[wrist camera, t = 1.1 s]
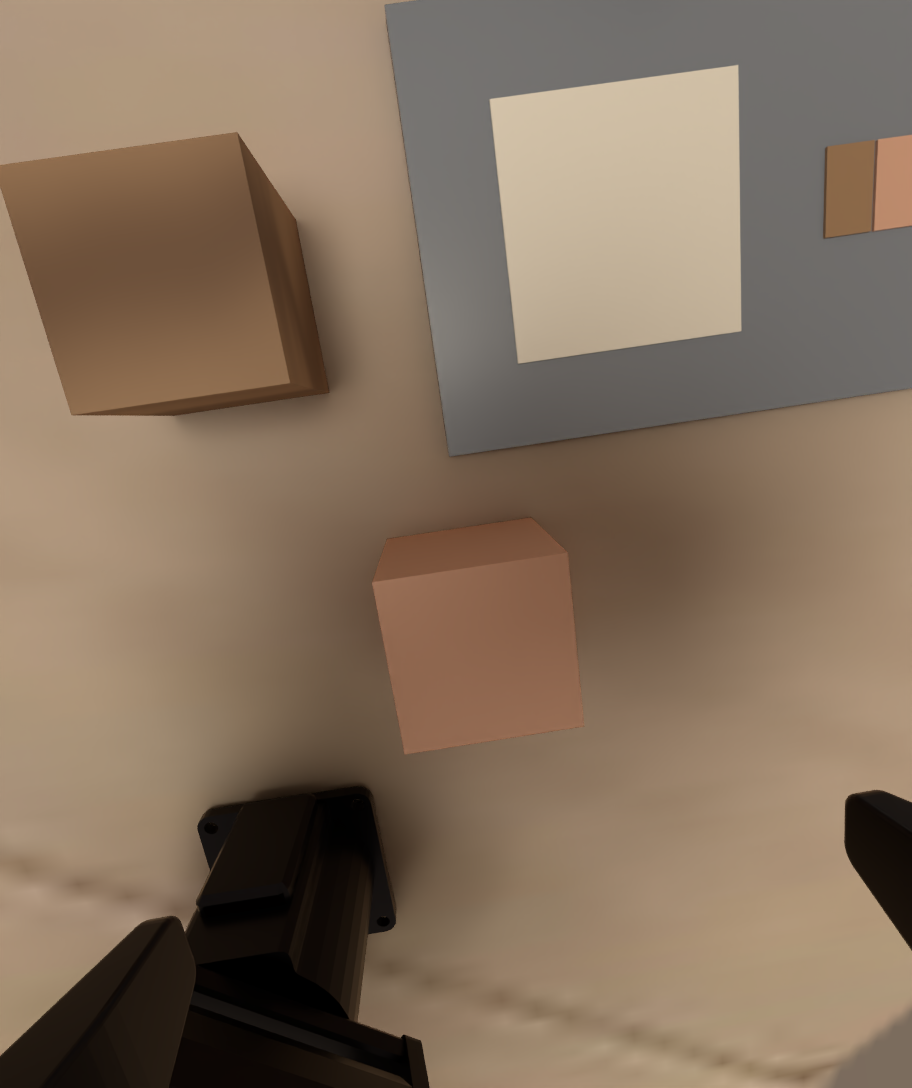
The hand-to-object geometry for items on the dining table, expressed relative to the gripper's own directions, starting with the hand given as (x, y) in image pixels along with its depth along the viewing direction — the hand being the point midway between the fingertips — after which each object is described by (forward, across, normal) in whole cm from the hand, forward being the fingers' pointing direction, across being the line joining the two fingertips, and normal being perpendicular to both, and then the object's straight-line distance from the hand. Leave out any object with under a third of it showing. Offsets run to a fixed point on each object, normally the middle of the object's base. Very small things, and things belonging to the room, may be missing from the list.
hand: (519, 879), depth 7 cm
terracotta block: (+12, 0, 0) cm, 12 cm away
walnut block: (+12, +6, -10) cm, 17 cm away
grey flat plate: (+12, -8, -11) cm, 18 cm away
